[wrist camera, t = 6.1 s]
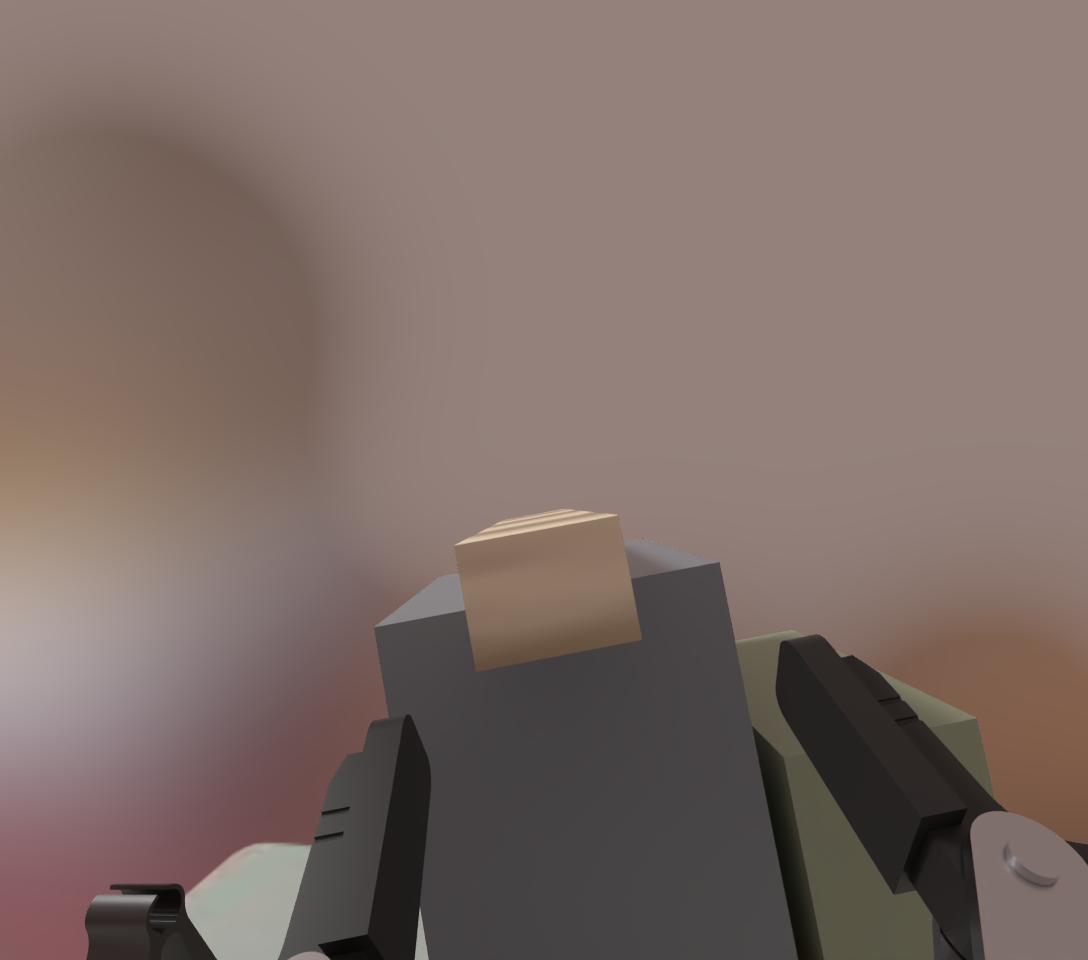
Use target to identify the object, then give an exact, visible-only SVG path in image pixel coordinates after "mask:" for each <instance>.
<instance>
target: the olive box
mask: <svg viewBox="0 0 1088 960" xmlns="http://www.w3.org/2000/svg"><path fill="white" fill-rule="evenodd" d="M800 637H805V635H803V634H800V633H798V632H796V631H794V630H790V631H785V632H779V633H775V634H770V635H764V636H759V637H754V638H749V639H744V640H738V641H735V643H736V648H737V653H738V658H739V663H740V668H741V674H742V679H743V684H744V689H745V694H746V699H747V704H748V709H749V714H750V719H751V724H752V729H753V734H754V739H755V744H756V749H757V754H758V759H759V764H760V769H761V774H762V780H763V785H764V790H765V795H766V800H767V805H768V810H769V815H770V820H771V825H772V830H773V835H774V840H775V845H776V850H777V855H778V860H779V865H780V870H781V875H782V880H783V886H784V891H785V896H786V901H787V906H788V911H789V916H790V921H791V926H792V931H793V936H794V941H795V946H796V951H797V956H798V960H934V948H933V930H932V914H931V912H930V911H929V909H928V908H927V906H926V905H925V903H924V902H923V900H922V899H921V897H920V896H919V894H918V893H917V891H911V892H906V893H901V894H897V895H894V894H893V893H892V891H891V890H890V888H889V886H888V885H887V883H886V882H885V880H884V878H883V877H882V875H881V874H880V872H879V870H878V869H877V867H876V865H875V864H874V862H873V861H872V859H871V857H870V856H869V854H868V853H867V851H866V849H865V848H864V846H863V844H862V843H861V841H860V840H859V838H858V836H857V835H856V833H855V832H854V830H853V828H852V827H851V825H850V823H849V822H848V820H847V819H846V817H845V815H844V814H843V812H842V811H841V809H840V807H839V806H838V804H837V803H836V801H835V799H834V798H833V796H832V794H831V793H830V791H829V790H828V788H827V786H826V785H825V783H824V782H823V780H822V778H821V777H820V775H819V773H818V772H817V770H816V769H815V767H814V765H813V764H812V762H811V761H810V759H809V757H808V756H807V754H806V752H805V751H804V749H803V748H802V746H801V744H800V743H799V741H798V740H797V738H796V736H795V735H794V733H793V731H792V730H791V728H790V727H789V725H788V723H787V722H786V720H785V718H784V717H783V715H782V712H781V710H780V708H779V705H778V701H777V697H776V690H775V688H776V677H777V667H778V657H779V647H780V644H781V642H782V641H784V640H789V639H795V638H800ZM835 651H836V650H835ZM836 652H837V653H838V655H839V656H840V657H846V655H844V654H842V653H840V652H838V651H836ZM874 670H875V669H874ZM876 671H877V670H876ZM877 672H879V671H877ZM879 673H880V674H881V675H882V676H883V677H884V678H885V679H886V681H887V682H888V683H889V684H890V685H891V686H892V687H893V688H894V689H895V691H896V692H897V693H898V694H899V695H900V697H901V699H902V701H905V702H906V703H907V704H908V705H909V706H910V707H911V708H912V709H913V710H914V712H915V713H916V714H917V715H918V718H919V720H920V721H922V720H923V722H924V723H925V724H926V725H927V726H928V727H929V728H930V729H931V730H932V732H933V733H934V734H935V735H936V736H937V737H938V738H939V739H940V740H941V742H942V743H943V744H944V745H945V746H946V747H947V748H948V749H949V750H950V752H951V753H952V754H953V755H954V756H955V757H956V758H957V759H958V760H959V762H960V763H961V764H962V765H963V766H964V767H965V768H966V769H967V770H968V771H969V773H970V774H971V775H972V776H973V777H974V778H975V779H976V780H977V781H978V783H979V784H980V785H981V786H982V787H983V788H984V789H985V790H986V791H987V793H988V794H989V795H990V796H991V797H992V798H993V799H994V795H993V790H992V785H991V781H990V776H989V772H988V767H987V763H986V758H985V753H984V749H983V744H982V740H981V735H980V731H979V726H978V722H977V718H975V717H973V716H971V715H969V714H967V713H965V712H963V711H961V710H959V709H956V708H954V707H952V706H950V705H948V704H946V703H944V702H942V701H940V700H938V699H936V698H934V697H932V696H929V695H927V694H925V693H923V692H921V691H919V690H917V689H915V688H913V687H911V686H909V685H907V684H904V683H902V682H900V681H898V680H896V679H894V678H892V677H890V676H888V675H886V674H884V673H882V672H879ZM994 800H995V799H994Z"/></svg>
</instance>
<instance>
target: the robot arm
mask: <svg viewBox="0 0 1088 960" xmlns="http://www.w3.org/2000/svg"><path fill="white" fill-rule="evenodd" d="M775 690H776V697H777V701H778V705H779V708H780V710H781V712H782V715H783V717H784V718H785V720H786V722H787V723H788V725H789V727H790V728H791V730H792V731H793V733H794V735H795V736H796V738H797V740H798V741H799V743H800V744H801V746H802V748H803V749H804V751H805V752H806V754H807V756H808V757H809V759H810V761H811V762H812V764H813V765H814V767H815V769H816V770H817V772H818V773H819V775H820V777H821V778H822V780H823V782H824V783H825V785H826V786H827V788H828V790H829V791H830V793H831V794H832V796H833V798H834V799H835V801H836V803H837V804H838V806H839V807H840V809H841V811H842V812H843V814H844V815H845V817H846V819H847V820H848V822H849V823H850V825H851V827H852V828H853V830H854V832H855V833H856V835H857V836H858V838H859V840H860V841H861V843H862V844H863V846H864V848H865V849H866V851H867V853H868V854H869V856H870V857H871V859H872V861H873V862H874V864H875V865H876V867H877V869H878V870H879V872H880V874H881V875H882V877H883V878H884V880H885V882H886V883H887V885H888V886H889V888H890V890H891V891H892V893H893V894H894V895H897V894H901V893H906V892H911V891H917V893H918V894H919V896H920V897H921V899H922V900H923V902H924V903H925V905H926V906H927V908H928V909H929V911H930V912H931V914H932V930H933V948H934V960H1088V845H1087V844H1081V843H1075V842H1069V841H1065V840H1063V839H1062V838H1060V837H1059V836H1058V835H1056V834H1055V833H1054V832H1052V831H1051V830H1049V829H1047V828H1046V827H1044V826H1043V825H1040V824H1039V823H1037V822H1035V821H1033V820H1031V819H1028V818H1026V817H1023V816H1020V815H1017V814H1014V813H1009V812H1008V811H1006V810H1005V809H1004V808H1003V807H1002V806H1001V805H999V804H998V803H997V802H996V801H995V800H994V799H993V798H992V797H991V796H990V795H989V794H988V793H987V791H986V790H985V789H984V788H983V787H982V786H981V785H980V784H979V783H978V781H977V780H976V779H975V778H974V777H973V776H972V775H971V774H970V773H969V771H968V770H967V769H966V768H965V767H964V766H963V765H962V764H961V763H960V762H959V760H958V759H957V758H956V757H955V756H954V755H953V754H952V753H951V752H950V750H949V749H948V748H947V747H946V746H945V745H944V744H943V743H942V742H941V740H940V739H939V738H938V737H937V736H936V735H935V734H934V733H933V732H932V730H931V729H930V728H929V727H928V726H927V725H926V724H925V723H924V722H923V720H922V721H920V720H919V718H918V715H917V714H916V713H915V712H914V710H913V709H912V708H911V707H910V706H909V705H908V704H907V703H906V702H905V701H902V699H901V697H900V695H899V694H898V693H897V692H896V691H895V689H894V688H893V687H892V686H891V685H890V684H889V683H888V682H887V681H886V679H885V678H884V677H883V676H882V675H881V674H880V673H879V672H877V671H876V670H874V669H873V668H871V667H870V666H868V665H867V664H865V663H863V662H862V661H860V660H859V659H857V658H856V657H854V656H852V655H851V656H846V657H840V656H839V655H838V653H837V652H836V651H835V650H834V649H833V648H832V646H831V645H830V644H829V643H828V642H827V641H826V639H825V638H823V637H822V636H820V635H818V634H816V635H810V636H805V637H800V638H795V639H789V640H784V641H782V642H781V644H780V647H779V657H778V667H777V677H776V688H775ZM430 796H431V770H430V764H429V759H428V756H427V754H426V751H425V749H424V746H423V744H422V741H421V739H420V736H419V734H418V731H417V729H416V726H415V724H414V721H413V719H412V717H411V715H409V714H406V715H401V716H396V717H390V718H385V719H380V720H375V721H373V722H372V723H371V724H370V726H369V729H368V733H367V737H366V741H365V745H364V749H363V752H360V753H354V754H349V755H347V756H346V758H345V759H344V761H343V762H342V764H341V765H340V767H339V769H338V770H337V772H336V773H335V775H334V777H333V778H332V779H331V781H330V783H329V787H328V790H327V794H326V797H325V801H324V804H323V808H322V817H321V818H320V819H319V822H318V826H317V829H316V833H315V836H314V838H315V841H314V844H312V847H311V850H310V854H309V857H308V861H307V864H306V868H305V871H304V875H303V878H302V882H301V885H300V889H299V892H298V896H297V899H296V903H295V906H294V910H293V913H292V917H291V920H290V924H289V928H288V931H287V935H286V938H285V942H284V945H283V948H282V950H281V953H280V956H279V958H278V960H415V949H416V939H417V929H418V919H419V908H420V898H421V888H422V878H423V867H424V857H425V847H426V837H427V826H428V816H429V806H430Z"/></svg>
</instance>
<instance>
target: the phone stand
mask: <svg viewBox="0 0 1088 960" xmlns="http://www.w3.org/2000/svg"><path fill="white" fill-rule="evenodd" d="M110 889H111V890H112V889H113V890H121V891H122V893H123V895H97V896H96V897H95V898H94V900H93V901H92V903H91V904H90V906H89V908H88V911H87V914H86V917H85V927H86V930H87V933H88V938H89V949H88V955H87V960H217V959H216V958H215V956H214V955H213V953H212V952H211V950H210V949H209V947H208V946H207V944H206V943H205V941H204V940H203V938H202V937H201V935H200V934H199V932H198V931H197V929H196V928H195V927H194V925H193V924H192V922H191V921H190V919H189V918H188V916H187V913H186V909H185V893H184V889H183V887H182V886H181V885H179V884H113V885H111V886H110Z"/></svg>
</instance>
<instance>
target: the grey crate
mask: <svg viewBox="0 0 1088 960" xmlns="http://www.w3.org/2000/svg"><path fill="white" fill-rule="evenodd" d="M624 546H625V552H626V557H627V562H628V567H629V573H630V578H631V583H632V588H633V594H634V599H635V604H636V610H637V615H638V620H639V625H640V631H641V636H642V640H638V641H633V642H628V643H622V644H617V645H612V646H607V647H602V648H596V649H591V650H586V651H581V652H576V653H571V654H565V655H560V656H555V657H550V658H545V659H540V660H534V661H529V662H524V663H519V664H514V665H508V666H503V667H498V668H493V669H488V670H483V671H477V672H476V669H475V663H474V658H473V652H472V646H471V640H470V635H469V629H468V623H467V617H466V612H465V606H464V600H463V594H462V588H461V583H460V577H459V573H455V574H450V575H444V576H440V577H439V578H437V579H436V580H435V581H434V582H432V583H431V584H430V585H428V586H427V587H426V588H424V589H423V590H422V591H421V592H419V593H418V594H417V595H415V596H414V597H413V598H411V599H410V600H409V601H408V602H406V603H405V604H404V605H402V606H401V607H400V608H398V609H397V610H396V611H395V612H393V613H392V614H391V615H389V616H388V617H387V618H386V619H384V620H383V621H382V622H380V623H379V624H378V625H377V626H375V627H374V630H375V636H376V642H377V648H378V654H379V660H380V666H381V672H382V678H383V684H384V690H385V697H386V703H387V709H388V715H389V718H390V717H396V716H401V715H406V714H409V715H411V717H412V719H413V721H414V724H415V726H416V729H417V731H418V734H419V736H420V739H421V741H422V744H423V746H424V749H425V751H426V754H427V756H428V759H429V764H430V770H431V796H430V806H429V816H428V826H427V837H426V847H425V857H424V867H423V878H422V888H421V898H420V909H421V915H422V921H423V927H424V933H425V939H426V945H427V952H428V958H429V960H798V956H797V951H796V946H795V941H794V936H793V931H792V926H791V921H790V916H789V911H788V906H787V901H786V896H785V891H784V886H783V880H782V875H781V870H780V865H779V860H778V855H777V850H776V845H775V840H774V835H773V830H772V825H771V820H770V815H769V810H768V805H767V800H766V795H765V790H764V785H763V780H762V774H761V769H760V764H759V759H758V754H757V749H756V744H755V739H754V734H753V729H752V724H751V719H750V714H749V709H748V704H747V699H746V694H745V689H744V684H743V679H742V674H741V668H740V663H739V658H738V653H737V648H736V643H735V638H734V633H733V628H732V623H731V618H730V613H729V608H728V603H727V598H726V593H725V588H724V583H723V578H722V573H721V568H720V563H719V562H718V561H714V560H711V559H708V558H705V557H701V556H698V555H695V554H692V553H688V552H685V551H682V550H678V549H675V548H672V547H669V546H665V545H662V544H659V543H655V542H652V541H649V540H646V539H643V538H642V539H637V540H631V541H626V542H624Z"/></svg>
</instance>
